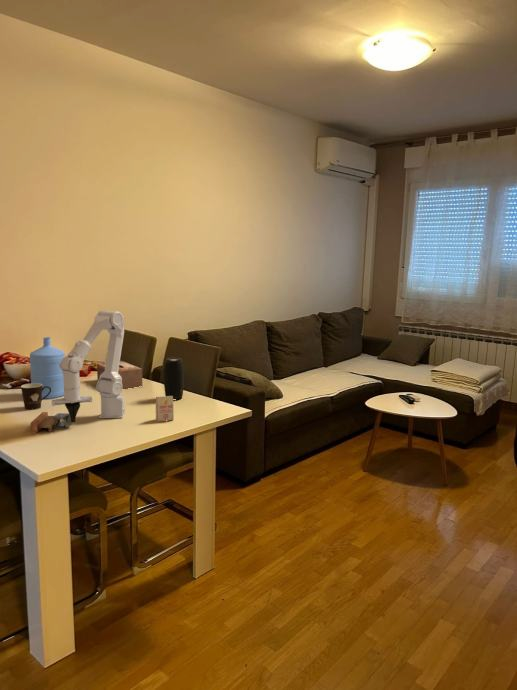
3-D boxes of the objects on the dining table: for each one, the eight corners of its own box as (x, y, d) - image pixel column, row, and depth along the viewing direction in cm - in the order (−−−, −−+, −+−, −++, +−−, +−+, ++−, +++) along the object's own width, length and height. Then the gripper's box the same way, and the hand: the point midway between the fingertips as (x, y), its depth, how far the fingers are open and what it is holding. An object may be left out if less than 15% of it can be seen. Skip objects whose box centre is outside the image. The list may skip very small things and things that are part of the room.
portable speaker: (187, 399, 238) (186, 358, 235) (169, 402, 232) (169, 360, 229) (178, 395, 245) (178, 356, 242) (161, 398, 239) (160, 358, 236)
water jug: (58, 399, 233) (56, 340, 228) (25, 399, 233) (22, 339, 229) (71, 391, 248) (69, 335, 244) (40, 390, 248) (37, 335, 244)
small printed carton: (155, 419, 205) (155, 395, 204) (172, 418, 208) (172, 394, 206) (156, 422, 202) (156, 398, 200) (173, 420, 204) (173, 397, 203)
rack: (61, 421, 200) (60, 411, 200) (50, 432, 186) (50, 422, 186) (42, 421, 199) (42, 412, 199) (31, 433, 186) (30, 422, 185)
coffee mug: (20, 411, 213) (19, 388, 212) (24, 405, 221) (22, 383, 220) (49, 409, 216) (48, 387, 215) (52, 404, 225) (51, 382, 223)
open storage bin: (71, 424, 197) (70, 413, 196) (66, 428, 192) (65, 417, 191) (58, 424, 197) (58, 413, 196) (53, 428, 192) (52, 417, 191)
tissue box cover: (142, 387, 261) (142, 368, 259) (115, 391, 252) (115, 371, 250) (122, 378, 281) (122, 361, 279) (97, 381, 272) (97, 363, 270)
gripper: (89, 383, 198) (90, 416, 200) (50, 386, 192) (52, 421, 194) (92, 387, 192) (93, 421, 194) (52, 391, 186) (53, 426, 188)
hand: (73, 421), depth 194 cm, fingers closed
